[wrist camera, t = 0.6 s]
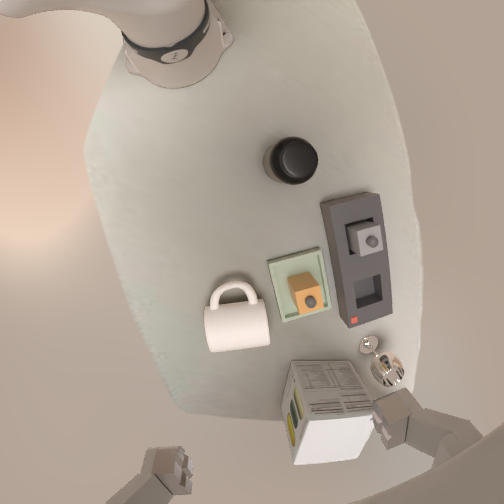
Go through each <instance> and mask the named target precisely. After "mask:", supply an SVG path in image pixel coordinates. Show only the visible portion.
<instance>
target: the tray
mask: <svg viewBox="0 0 504 504" xmlns="http://www.w3.org/2000/svg"><path fill="white" fill-rule="evenodd" d="M267 263H268V267H269V271H270V275H271V279H272V283H273V287H274V291H275V295H276V299H277V303H278V307H279V311H280V315H281V319H282V322H286V321H290V320H294V319H297V318H301V317H304V316H308V315H311V314H315V313H318V312H321V311H325V310H328V309H331V308H332V307H331V301H330V295H329V289H328V283H327V277H326V272H325V266H324V261H323V256H322V250H321V249H320V248H318V247H317V248H314V249H310V250H306V251H302V252H299V253H295V254H291V255H288V256H284V257H280V258H276V259H273V260H269V261H267ZM308 271H309V272H310V273H311V275H312V276H313V277H314V278H315V280H316V281H317V282H318V284H319V285H320V289H321V294H322V300H323V306H324V308H322V309H319V310H315V311H312V312H308V313H305V314H301V315H300V314H299V312H298V310H297V308H296V306H295V304H294V302H293V300H292V298H291V294H290V289H289V285H288V280H287V277H290V276H294V275H297V274H301V273H305V272H308Z"/></svg>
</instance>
